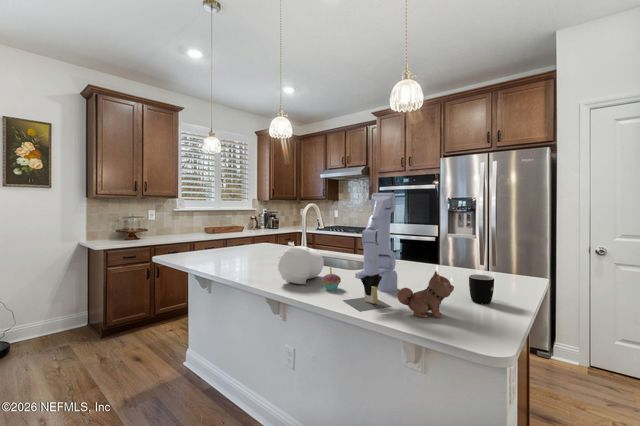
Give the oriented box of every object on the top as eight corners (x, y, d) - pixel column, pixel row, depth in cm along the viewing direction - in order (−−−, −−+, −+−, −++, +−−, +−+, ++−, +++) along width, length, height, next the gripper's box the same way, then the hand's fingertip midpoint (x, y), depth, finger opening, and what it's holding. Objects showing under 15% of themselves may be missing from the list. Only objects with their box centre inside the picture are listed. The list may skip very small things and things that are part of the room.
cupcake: (339, 292, 138) (339, 265, 137) (320, 291, 140) (320, 264, 139) (341, 287, 146) (341, 262, 146) (324, 286, 148) (324, 261, 148)
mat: (372, 297, 131) (372, 296, 131) (392, 307, 118) (392, 306, 118) (342, 301, 126) (342, 300, 126) (359, 312, 113) (359, 311, 113)
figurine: (457, 321, 105) (458, 276, 105) (398, 317, 109) (398, 274, 108) (450, 310, 115) (450, 270, 115) (396, 307, 118) (396, 268, 118)
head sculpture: (296, 242, 178) (276, 239, 152) (330, 250, 172) (315, 247, 146) (288, 276, 176) (267, 278, 150) (322, 285, 170) (306, 289, 144)
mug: (493, 307, 119) (494, 280, 119) (467, 303, 123) (468, 278, 123) (493, 298, 130) (494, 274, 129) (469, 295, 134) (469, 272, 134)
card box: (368, 300, 125) (367, 285, 126) (377, 302, 121) (376, 287, 122) (364, 301, 124) (363, 286, 124) (373, 303, 120) (373, 287, 120)
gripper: (376, 256, 130) (376, 289, 130) (350, 260, 121) (350, 295, 122) (389, 259, 124) (389, 293, 125) (362, 263, 116) (362, 299, 116)
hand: (370, 294), depth 123 cm, fingers closed on card box, 2 cm apart
